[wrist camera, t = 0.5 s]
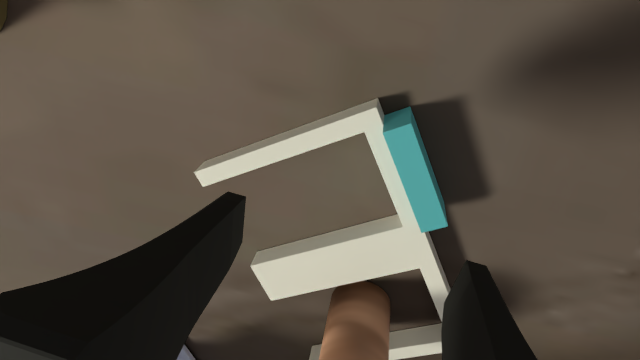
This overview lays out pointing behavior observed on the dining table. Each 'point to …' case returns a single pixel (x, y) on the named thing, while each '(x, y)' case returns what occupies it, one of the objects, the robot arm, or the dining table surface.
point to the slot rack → (364, 239)
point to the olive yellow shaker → (3, 12)
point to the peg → (357, 323)
